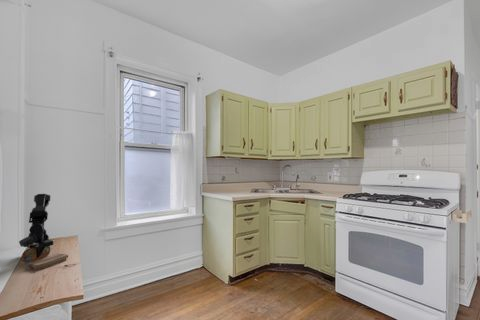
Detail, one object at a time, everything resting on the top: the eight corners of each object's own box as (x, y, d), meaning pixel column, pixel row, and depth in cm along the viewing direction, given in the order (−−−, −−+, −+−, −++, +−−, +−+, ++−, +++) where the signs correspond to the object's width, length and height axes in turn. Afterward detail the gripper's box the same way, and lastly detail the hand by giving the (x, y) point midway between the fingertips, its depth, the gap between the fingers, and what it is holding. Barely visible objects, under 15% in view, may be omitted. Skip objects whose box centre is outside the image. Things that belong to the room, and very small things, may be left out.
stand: (26, 269, 131) (27, 263, 131) (57, 258, 148) (58, 253, 148) (37, 270, 129) (38, 265, 129) (67, 259, 146) (68, 254, 146)
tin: (24, 265, 136) (25, 250, 136) (20, 265, 137) (20, 250, 137) (50, 256, 151) (51, 242, 151) (46, 255, 151) (47, 242, 152)
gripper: (10, 232, 139) (9, 260, 138) (34, 235, 134) (33, 263, 134) (31, 228, 150) (30, 253, 149) (54, 230, 145) (53, 257, 144)
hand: (36, 257), depth 144 cm, fingers closed on tin, 3 cm apart
